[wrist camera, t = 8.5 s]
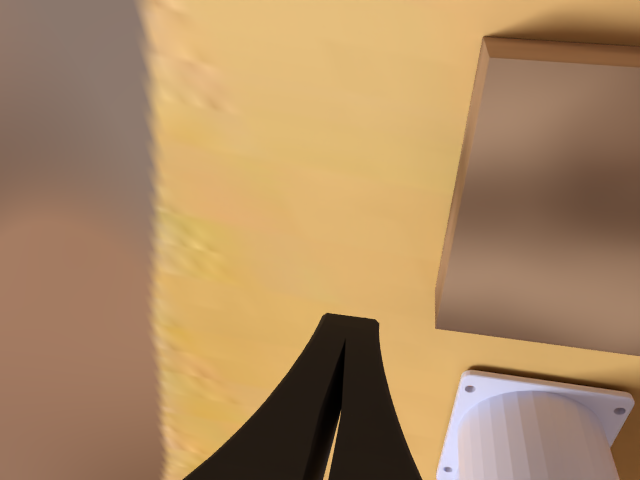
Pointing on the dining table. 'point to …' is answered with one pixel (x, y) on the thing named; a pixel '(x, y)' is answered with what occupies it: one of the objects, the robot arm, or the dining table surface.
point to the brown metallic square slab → (548, 199)
